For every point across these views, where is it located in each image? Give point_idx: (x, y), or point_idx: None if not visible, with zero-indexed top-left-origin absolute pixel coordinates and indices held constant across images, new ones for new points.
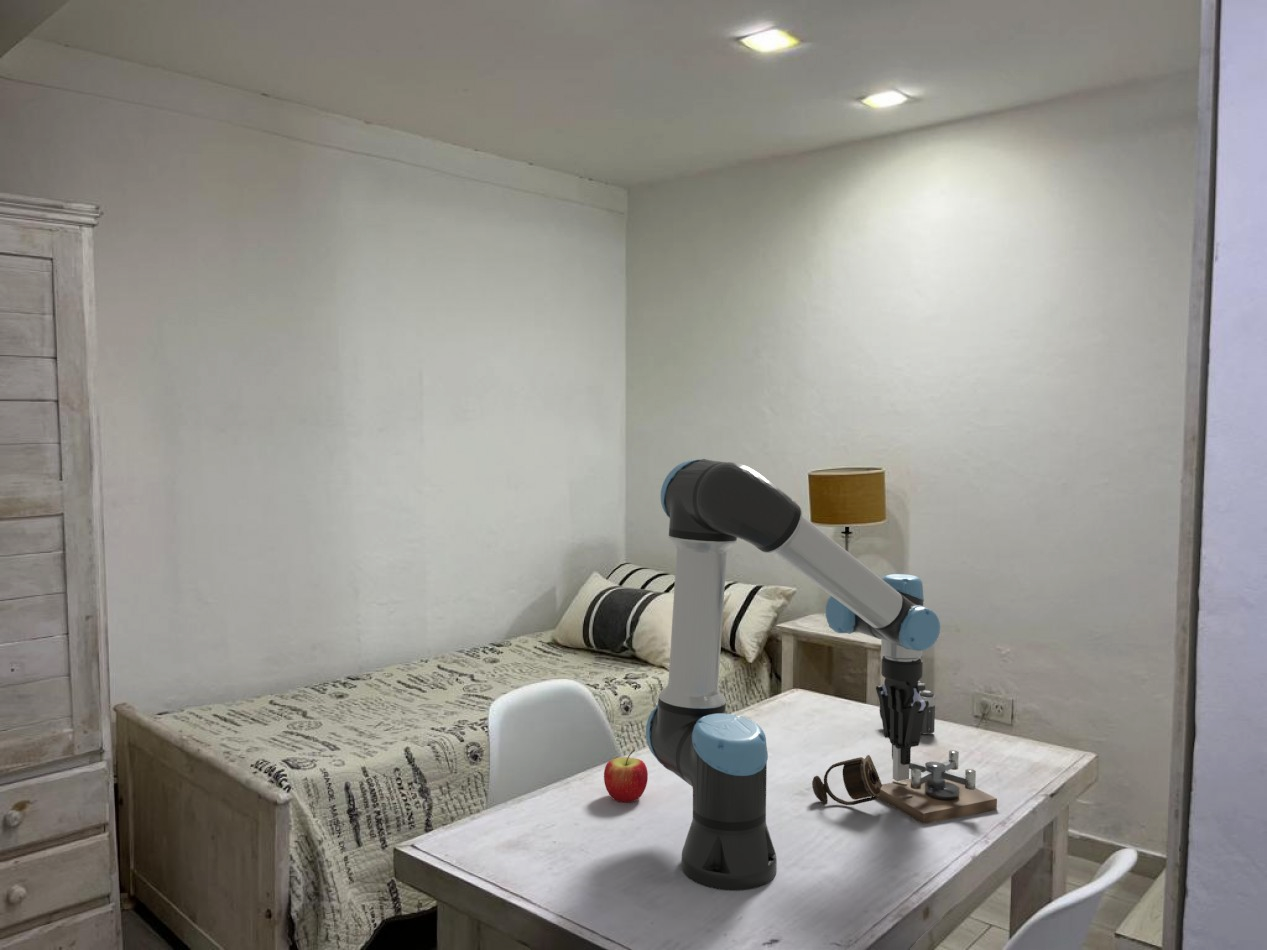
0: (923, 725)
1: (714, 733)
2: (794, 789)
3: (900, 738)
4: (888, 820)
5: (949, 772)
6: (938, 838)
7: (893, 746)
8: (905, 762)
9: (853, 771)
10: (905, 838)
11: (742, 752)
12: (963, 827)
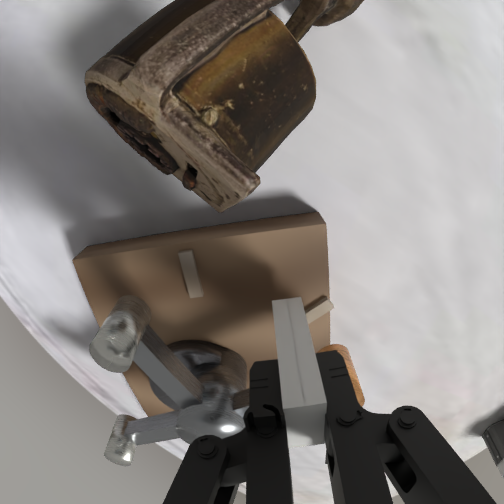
0: (495, 434)
1: None
2: (432, 5)
3: (267, 463)
4: (122, 160)
5: (172, 434)
6: (24, 240)
7: (321, 399)
8: (250, 374)
9: (149, 24)
10: (24, 159)
11: None
12: (76, 323)
